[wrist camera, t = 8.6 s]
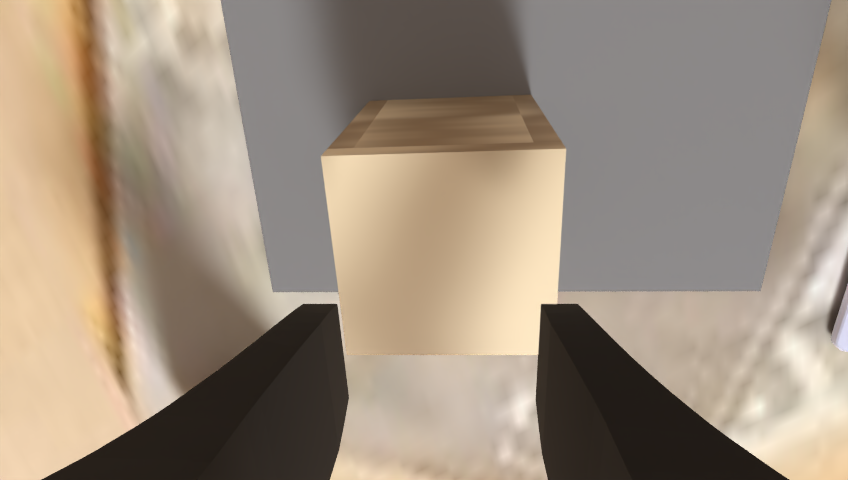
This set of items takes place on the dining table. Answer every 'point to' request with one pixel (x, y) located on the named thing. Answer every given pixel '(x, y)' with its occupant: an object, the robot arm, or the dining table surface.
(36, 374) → the dining table surface
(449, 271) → the wood block
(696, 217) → the slate mat
